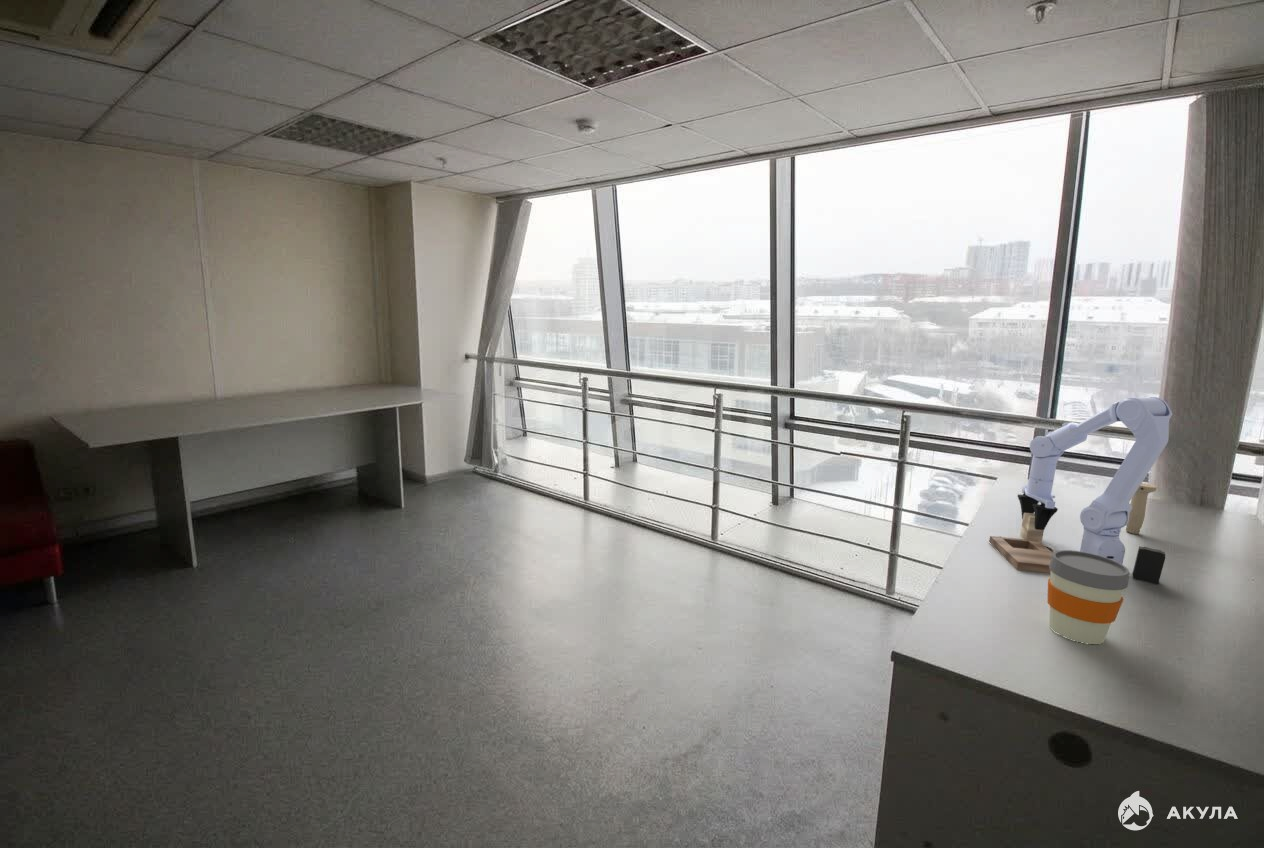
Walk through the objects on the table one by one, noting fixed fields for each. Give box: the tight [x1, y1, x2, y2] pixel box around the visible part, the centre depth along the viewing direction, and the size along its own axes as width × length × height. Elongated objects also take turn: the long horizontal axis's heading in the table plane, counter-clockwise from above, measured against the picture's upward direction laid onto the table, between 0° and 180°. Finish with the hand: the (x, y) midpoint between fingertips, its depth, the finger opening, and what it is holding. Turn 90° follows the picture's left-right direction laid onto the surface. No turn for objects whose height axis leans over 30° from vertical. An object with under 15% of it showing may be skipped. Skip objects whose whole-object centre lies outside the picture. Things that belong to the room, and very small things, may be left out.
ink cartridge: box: [1131, 546, 1166, 585], centre depth 147 cm, size 5×2×8 cm, turn 52°
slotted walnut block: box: [988, 535, 1054, 574], centre depth 159 cm, size 18×12×2 cm, turn 170°
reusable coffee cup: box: [1047, 549, 1130, 645], centre depth 120 cm, size 13×13×15 cm
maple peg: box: [1019, 512, 1045, 543], centre depth 172 cm, size 4×4×7 cm
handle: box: [1125, 482, 1157, 535], centre depth 180 cm, size 5×6×15 cm
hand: (1032, 524), depth 172 cm, fingers open, 7 cm apart
